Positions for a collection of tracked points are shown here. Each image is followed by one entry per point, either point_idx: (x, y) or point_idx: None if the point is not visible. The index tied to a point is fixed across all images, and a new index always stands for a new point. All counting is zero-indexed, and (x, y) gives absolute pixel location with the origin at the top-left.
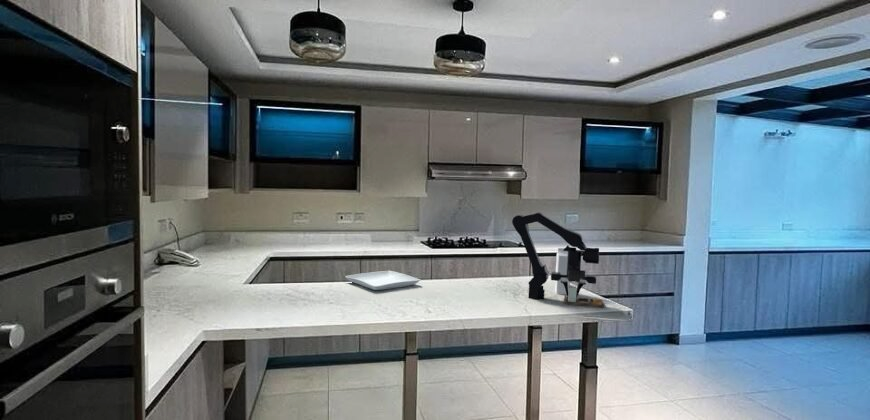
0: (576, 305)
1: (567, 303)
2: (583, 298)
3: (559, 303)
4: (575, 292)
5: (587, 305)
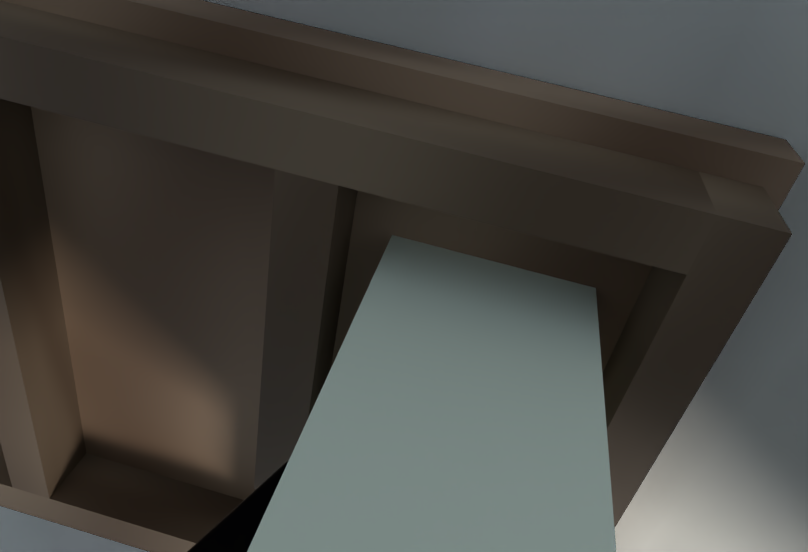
0: (405, 92)
1: (699, 188)
2: (140, 522)
3: (766, 418)
4: (300, 548)
5: (61, 26)
